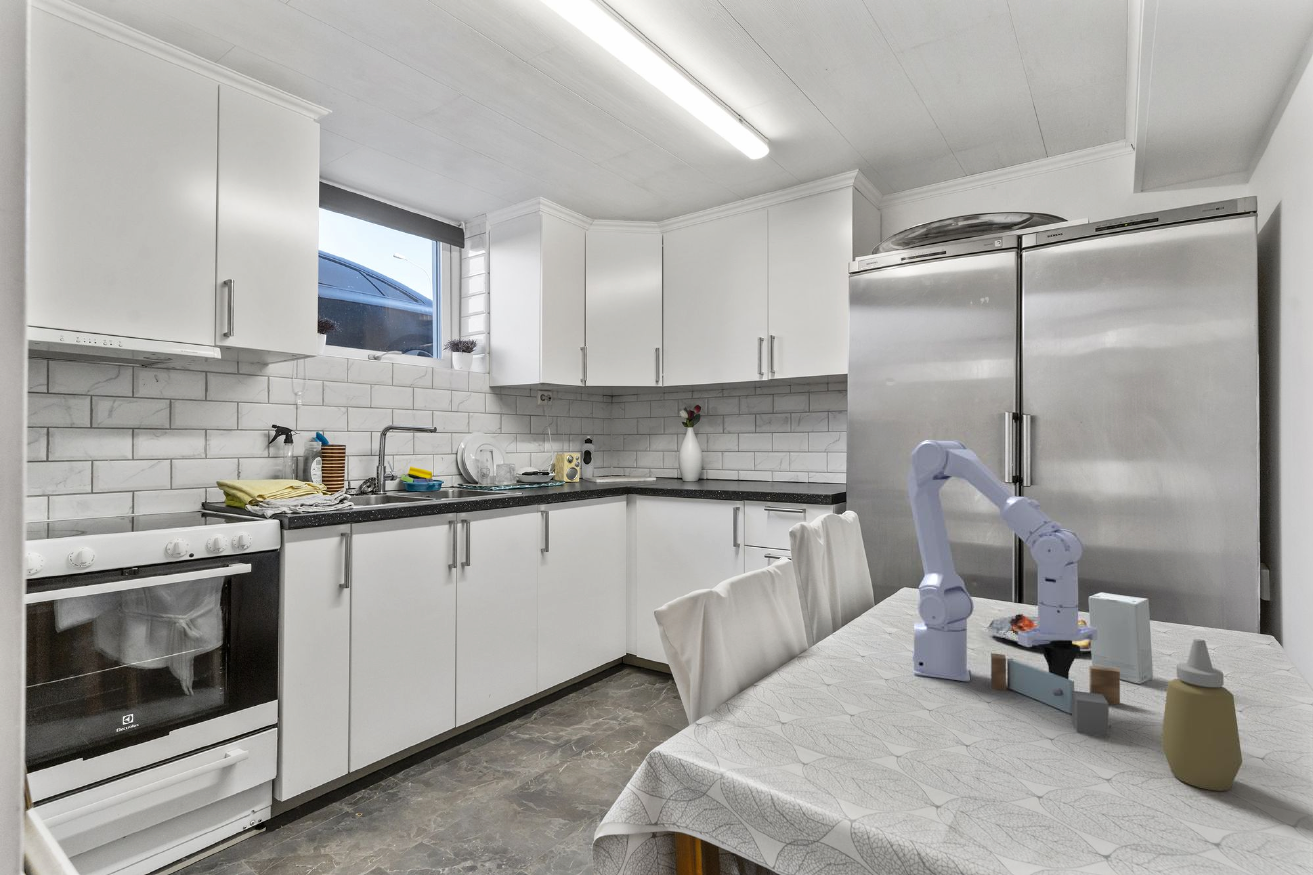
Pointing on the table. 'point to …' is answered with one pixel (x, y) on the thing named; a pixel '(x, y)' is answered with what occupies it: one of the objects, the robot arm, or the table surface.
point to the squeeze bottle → (1201, 724)
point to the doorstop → (1090, 713)
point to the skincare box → (1122, 635)
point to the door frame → (1100, 679)
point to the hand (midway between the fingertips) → (1058, 685)
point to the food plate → (1024, 624)
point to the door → (1040, 684)
